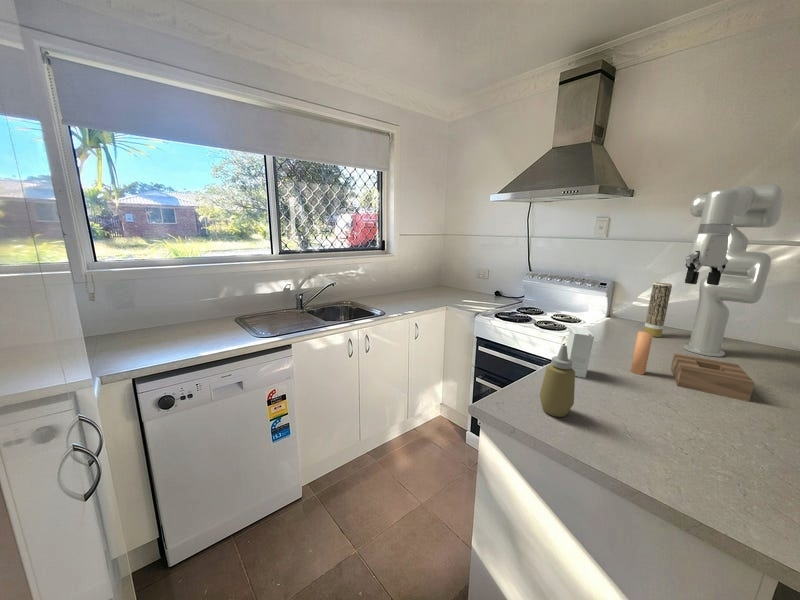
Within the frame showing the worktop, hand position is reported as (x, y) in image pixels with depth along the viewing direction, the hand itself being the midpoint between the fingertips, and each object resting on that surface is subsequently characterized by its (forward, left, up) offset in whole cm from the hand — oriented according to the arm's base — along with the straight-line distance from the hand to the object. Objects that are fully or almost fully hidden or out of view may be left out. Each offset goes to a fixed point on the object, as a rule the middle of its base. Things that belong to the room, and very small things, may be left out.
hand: (701, 284), depth 106 cm
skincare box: (+24, -31, -31) cm, 50 cm away
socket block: (+7, +5, -31) cm, 32 cm away
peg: (+10, -13, -31) cm, 35 cm away
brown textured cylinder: (-48, -5, -31) cm, 57 cm away
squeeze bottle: (+55, -32, -31) cm, 71 cm away
